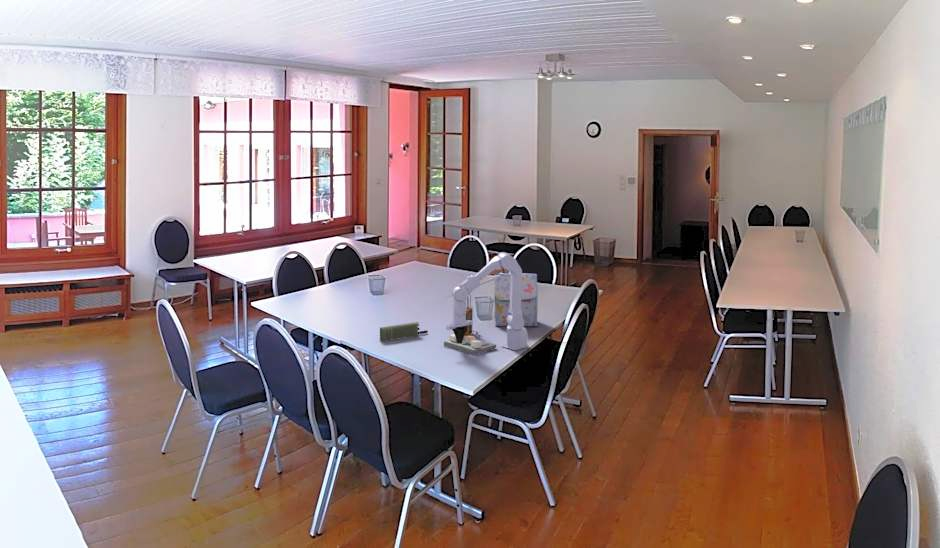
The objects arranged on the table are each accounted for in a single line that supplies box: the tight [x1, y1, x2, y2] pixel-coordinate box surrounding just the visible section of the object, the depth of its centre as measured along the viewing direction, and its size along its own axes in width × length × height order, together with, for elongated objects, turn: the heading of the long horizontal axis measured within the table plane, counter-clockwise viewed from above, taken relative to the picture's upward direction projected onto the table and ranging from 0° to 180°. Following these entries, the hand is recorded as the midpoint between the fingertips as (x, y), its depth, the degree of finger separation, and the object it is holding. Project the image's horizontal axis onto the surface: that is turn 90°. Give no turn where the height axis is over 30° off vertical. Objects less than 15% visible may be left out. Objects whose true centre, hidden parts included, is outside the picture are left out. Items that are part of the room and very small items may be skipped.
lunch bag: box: [493, 272, 539, 327], centre depth 385 cm, size 22×17×26 cm
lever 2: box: [471, 340, 481, 348], centre depth 338 cm, size 3×4×2 cm
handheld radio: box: [379, 321, 428, 342], centre depth 361 cm, size 7×3×25 cm
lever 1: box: [449, 333, 457, 342], centre depth 348 cm, size 3×4×2 cm
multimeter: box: [464, 293, 484, 339], centre depth 364 cm, size 15×10×20 cm
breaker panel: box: [443, 336, 497, 355], centre depth 346 cm, size 14×20×2 cm
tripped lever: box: [465, 334, 476, 344], centre depth 345 cm, size 3×4×3 cm
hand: (459, 342), depth 341 cm, fingers closed
